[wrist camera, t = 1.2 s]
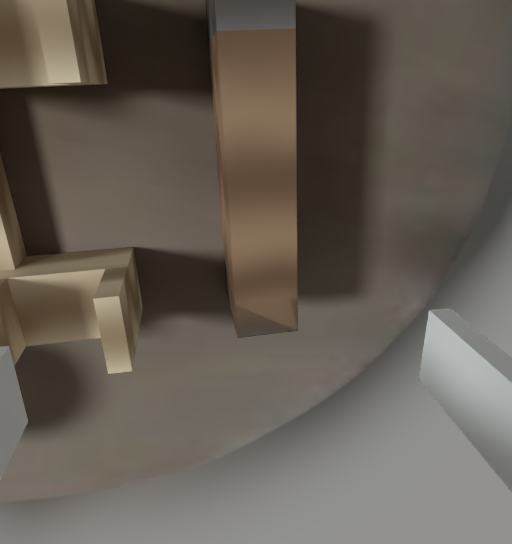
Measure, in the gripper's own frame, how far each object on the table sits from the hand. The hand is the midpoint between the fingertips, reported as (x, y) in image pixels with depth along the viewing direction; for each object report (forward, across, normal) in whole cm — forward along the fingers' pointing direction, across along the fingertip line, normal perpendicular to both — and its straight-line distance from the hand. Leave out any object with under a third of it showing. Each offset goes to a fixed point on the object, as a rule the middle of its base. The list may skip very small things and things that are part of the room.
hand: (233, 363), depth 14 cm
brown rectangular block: (+20, +3, +3) cm, 21 cm away
